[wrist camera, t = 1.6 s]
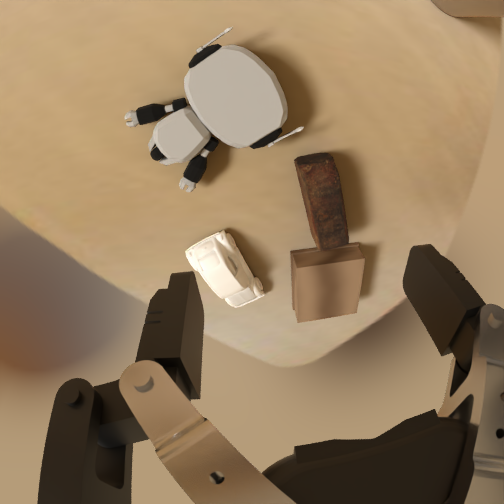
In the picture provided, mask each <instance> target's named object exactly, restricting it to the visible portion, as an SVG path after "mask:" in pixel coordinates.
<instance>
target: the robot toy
mask: <svg viewBox="0 0 504 504" xmlns="http://www.w3.org/2000/svg"><path fill="white" fill-rule="evenodd" d="M232 28H233V27H230V28H227V29H226V30H225V31H224V32H222V33H221V34H220V35H218V36H217V37H215V38H214V39H212V40H211V41H210V42H208V43H207V44H206V45H204V46H202V47H200V48H198V49H197V50H196V51H197V54H196V55H194V57H193V58H192V60H191V61H190V63H189V68H190V69H189V71H188V73H187V75H186V76H185V78H184V89H185V93H186V96H187V98H188V101H189V103H190V105H191V106H189V105H187V103H186V99H185V98H181V99H176V100H174V101H173V103H172V104H170V105H166V106H164V105H160V104H150V105H146V106H143V107H140V108H138V109H137V110H136V111H133V110H131V111H129V112H127V113H126V115H125V120H126V119H128V118H130V117H131V118H132V121H127V122H126V125H127V126H129V127H136V126H137V125H138V124H140V125H143V124H147V123H151V122H154V121H158V120H159V119H160V118H161V117H163V116H164V115H165V114H166V113H167V112H171V111H174V112H173V113H171V114H170V115H168V116H167V117H165V118H164V119H162V120H161V121H160V122H158V123H157V125H156V127H155V128H154V131H153V136H152V138H151V140H150V141H149V143H148V146H149V150H150V151H151V150H152V149H153V148H154V147H155V146H156V145H157V147H156V148H154V149H153V150H152V151H151V154H150V155H151V157H152V158H153V159H154V160H156V161H158V160H160V159H161V158H162V159H161V160H160V161H159V163H162V164H164V165H169V164H173V163H183V162H186V161H189V160H190V159H192V158H193V157H194V156H195V155H196V154H197V153H198V152H199V151H200V150H201V149H202V148H203V150H202V151H201V153H200V154H199V155H197V156H196V157H194V158H193V159H192V160H190V162H189V164H188V166H187V168H186V170H185V171H184V173H183V174H184V177H183V178H182V179H181V180H180V184H179V186H180V188H181V189H182V190H183V189H184V186H185V184H186V185H188V186H189V187H188V188H187V189H186V191H187V192H191V191H193V190H194V189H195V188H196V183H198V182H199V181H200V179H201V177H202V175H203V173H204V172H205V170H206V165H207V155H208V153H209V152H211V151H214V150H215V148H216V146H217V145H218V143H219V141H218V140H217V139H216V138H214V137H212V133H213V134H214V135H215V136H216V137H217V138H219V139H220V140H221V141H223V142H224V143H226V144H228V145H230V146H233V147H236V148H244V147H251V148H253V149H256V148H260V147H264V146H266V145H268V147H270V146H272V145H274V143H275V142H277V141H279V140H281V139H283V138H285V137H287V136H289V135H291V134H293V133H295V132H299V131H301V130H302V129H303V128H304V127H298V128H296V129H295V130H293V131H291V132H289V133H287V134H285V135H283V136H281V137H279V138H278V136H279V135H280V134H281V132H282V129H281V127H282V125H283V124H284V122H285V121H286V120H287V113H288V107H287V102H286V99H285V95H284V92H283V90H282V88H281V86H280V84H279V82H278V80H277V78H276V75H275V73H274V72H273V71H272V70H271V69H270V68H269V67H268V66H267V65H266V64H265V63H264V62H263V61H262V60H261V59H260V58H259V57H257V56H256V55H255V54H253V53H252V52H251V51H249V50H247V49H246V48H243V47H240V46H237V45H228V46H221V45H219V44H215V45H211V46H208V45H209V44H211V43H212V42H214V41H215V40H216V39H218V38H219V37H221V36H222V35H224V34H225V33H227V32H229V31H230V30H232ZM205 47H206V48H205Z"/></svg>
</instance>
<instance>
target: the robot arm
mask: <svg viewBox="0 0 504 504" xmlns="http://www.w3.org/2000/svg"><path fill="white" fill-rule="evenodd" d="M432 2H433V3H434V4H435V5H436V6H437V7H438V8H439V9H441V10H442V11H443V12H445V13H447V14H448V15H451V16H454V17H504V0H432ZM403 288H404V292H405V294H406V295H407V297H408V299H409V300H410V302H411V303H412V305H413V307H414V308H415V310H416V312H417V313H418V315H419V317H420V319H421V320H422V322H423V324H424V325H425V327H426V329H427V331H428V333H429V334H430V336H431V338H432V340H433V341H434V343H435V345H436V347H437V349H438V351H439V352H440V354H441V356H444V355H447V354H450V353H453V354H454V357H453V359H452V361H451V366H450V372H449V377H448V383H447V388H446V393H445V397H444V401H443V404H442V407H441V408H440V410H439V412H438V414H437V413H436V411H435V409H433V410H431V411H428V412H426V413H423V414H420V415H418V416H415V417H412V418H409V419H406V420H404V421H403V422H401V423H400V424H398V425H397V426H395V427H393V428H392V429H390V430H388V431H387V432H385V433H384V434H382V435H380V436H378V437H376V438H374V439H361V440H360V439H358V440H357V439H355V440H340V439H339V440H337V439H334V440H328V441H323V442H318V443H312V444H306V445H300V446H295V447H294V454H293V455H290V456H287V457H285V458H283V459H281V460H279V461H277V462H276V463H274V464H273V465H271V466H270V467H268V468H267V469H266V470H265V471H263V472H262V473H260V472H259V471H258V470H257V469H256V468H255V467H254V466H253V465H252V464H251V463H250V462H249V461H248V460H247V459H246V458H245V457H244V456H243V455H242V454H241V453H240V452H238V450H237V449H236V448H235V447H234V446H233V445H232V444H231V443H230V442H229V441H228V440H227V439H226V438H225V437H224V436H223V435H222V434H221V433H220V432H219V430H218V429H217V428H216V427H215V426H214V425H213V424H212V423H211V422H210V421H209V420H207V419H206V418H204V417H203V416H202V415H201V414H200V413H199V412H198V411H197V410H196V408H195V407H194V406H193V405H192V404H191V402H190V401H191V399H200V391H201V366H202V347H203V330H204V310H203V304H202V300H201V297H200V293H199V289H198V285H197V282H196V278H195V274H194V272H193V271H190V272H180V273H172V274H171V276H170V281H169V285H168V289H159V290H158V291H157V292H156V293H155V295H154V296H153V297H152V299H151V300H150V303H149V307H148V311H147V315H146V319H145V324H144V327H143V331H142V335H141V339H140V343H139V348H138V352H137V357H136V361H135V363H133V364H132V365H130V366H128V367H127V368H126V369H125V371H124V372H123V373H122V375H121V377H120V379H118V380H116V381H113V382H110V383H106V384H102V385H99V386H94V387H93V386H92V385H91V384H90V383H89V382H88V381H86V380H84V379H81V378H75V379H71V380H69V381H67V382H65V383H64V384H63V385H62V386H61V387H60V388H59V390H58V392H57V394H56V397H55V401H54V405H53V409H52V413H51V418H50V422H49V427H48V432H47V437H46V442H45V448H44V454H43V460H42V467H41V474H40V482H39V492H38V504H131V479H132V453H133V443H136V442H140V441H144V440H148V439H150V440H151V442H152V443H153V445H154V447H155V448H156V450H155V451H156V454H157V456H158V457H159V459H160V460H161V462H162V463H163V464H164V466H165V467H166V469H167V470H168V471H169V473H170V474H171V475H172V476H173V478H174V479H175V480H176V482H177V483H178V484H179V485H180V487H181V488H182V489H183V490H184V491H185V493H186V494H187V495H188V496H189V497H190V499H191V500H192V501H193V502H194V503H195V504H504V309H503V308H501V307H499V306H497V305H494V304H487V305H486V304H485V302H484V301H483V300H482V298H481V297H480V296H479V294H478V293H477V292H476V291H475V290H474V288H473V287H472V286H471V285H470V283H469V282H468V281H467V280H465V277H464V276H463V274H462V273H460V271H459V270H458V268H457V267H456V266H455V265H454V264H453V263H452V262H451V261H449V260H448V259H447V258H445V257H444V256H442V255H440V253H439V252H438V251H437V250H436V249H435V248H434V247H433V246H432V245H431V244H426V245H418V246H413V247H412V248H411V250H410V253H409V257H408V261H407V265H406V269H405V273H404V277H403Z"/></svg>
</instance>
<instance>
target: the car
mask: <svg viewBox="0 0 504 504" xmlns="http://www.w3.org/2000/svg"><path fill="white" fill-rule="evenodd" d="M185 252H186V256H187V258H188V261H189V262H190V264H191V265H192V267H193V268H194V269H195V270H196V271H199V273H200V274H201V276H202V277H203V278H204V280H205V281H206V282H207V284H208V285H209V286H210V288H211V289H212V290H213V291H214V292H215V293H216V294H217V295H218V296H219V297H221V298H222V299H225V300H226V302H227V303H228V304H229V305H231V306H233V307H235V308H237V307H240V306H243V305H245V304H248V303H250V302H252V301H254V300H256V299H258V298H260V297H262V296H264V295H265V294H264V291H262V290H263V286H262V283H261V282H260V280H259V279H258V278H257V277H255V278H254V276H253V274H252V273H251V271H250V269H249V267H248V265H247V264H246V262H245V260H244V258H243V256H242V254H241V253H240V251H239V249H238V248H237V247H236V244H235V241H234V239H233V238H232V236H231V235H230V234H229V233H227V234H226V233H225V231H224V230H223V231H221V232H218V233H215V234H213V235H211V236H209V237H207V238H205V239H203V240H201V241H199V242H198V243H196V244H194V245H193V246H191V247H190V248H188V249H187V250H185Z"/></svg>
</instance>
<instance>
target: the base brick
mask: <svg viewBox="0 0 504 504" xmlns="http://www.w3.org/2000/svg"><path fill="white" fill-rule="evenodd" d="M290 253H291V276H292V306H293V310H295V313H296V317H297V322H298V323H300V322H306V321H313V320H319V319H325V318H331V317H336V316H342V315H348V314H353V313H357V308H358V302H359V296H360V290H361V284H362V277H363V271H364V263H365V257H364V256H363V254H362V252H361V251H360V249H359V244H358V242H356V243H349V244H347V245H344V246H341V247H337V248H334V249H331V250H328V251H325V252H321V251H319V249H318V248H310V249H302V250H295V251H290Z"/></svg>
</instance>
